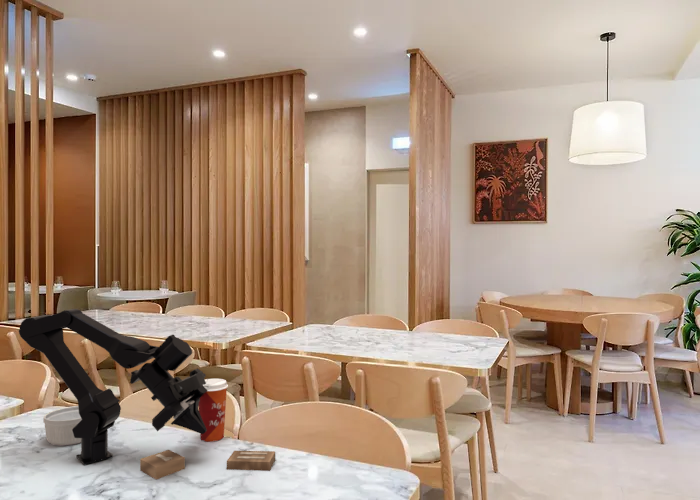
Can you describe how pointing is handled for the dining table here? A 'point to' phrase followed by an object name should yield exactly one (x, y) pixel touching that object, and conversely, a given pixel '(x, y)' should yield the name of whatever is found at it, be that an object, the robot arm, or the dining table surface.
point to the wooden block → (251, 460)
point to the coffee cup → (213, 409)
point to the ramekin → (62, 426)
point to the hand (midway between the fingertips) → (205, 432)
